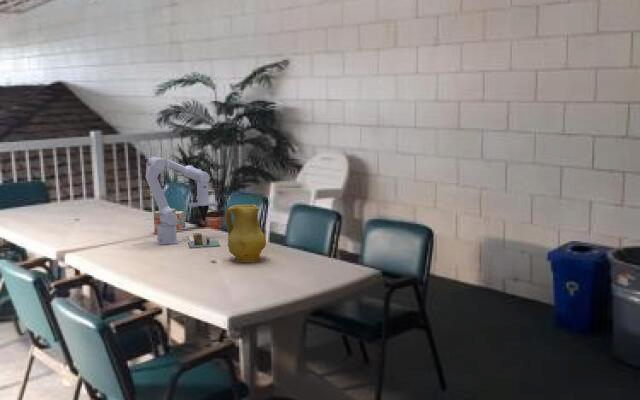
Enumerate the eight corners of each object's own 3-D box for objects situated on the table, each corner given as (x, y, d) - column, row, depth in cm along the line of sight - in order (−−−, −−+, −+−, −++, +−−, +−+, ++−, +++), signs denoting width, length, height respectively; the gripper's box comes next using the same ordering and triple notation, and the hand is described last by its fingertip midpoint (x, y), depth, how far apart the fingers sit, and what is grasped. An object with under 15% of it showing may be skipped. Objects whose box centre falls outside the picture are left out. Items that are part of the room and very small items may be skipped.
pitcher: (235, 265, 284) (235, 208, 281) (221, 258, 300) (220, 204, 298) (272, 261, 292) (271, 206, 289) (256, 255, 308) (255, 202, 306)
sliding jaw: (202, 245, 320) (202, 239, 320) (201, 241, 330) (200, 235, 329) (210, 245, 321) (209, 239, 321) (208, 240, 331) (208, 235, 330)
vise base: (189, 248, 318) (189, 241, 317) (188, 243, 329) (187, 236, 329) (220, 246, 321) (220, 239, 321) (217, 241, 333) (217, 234, 332)
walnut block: (194, 245, 321) (193, 235, 321) (193, 243, 326) (193, 233, 325) (202, 244, 322) (201, 234, 322) (201, 242, 327) (201, 232, 326)
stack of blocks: (176, 226, 371) (175, 205, 369) (185, 227, 369) (184, 206, 367) (154, 234, 351) (153, 211, 349) (164, 235, 349) (163, 212, 347)
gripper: (189, 196, 332) (190, 222, 334) (217, 194, 335) (218, 220, 337) (188, 194, 338) (189, 219, 341) (216, 193, 342) (217, 218, 344)
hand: (203, 220), depth 339 cm, fingers closed
